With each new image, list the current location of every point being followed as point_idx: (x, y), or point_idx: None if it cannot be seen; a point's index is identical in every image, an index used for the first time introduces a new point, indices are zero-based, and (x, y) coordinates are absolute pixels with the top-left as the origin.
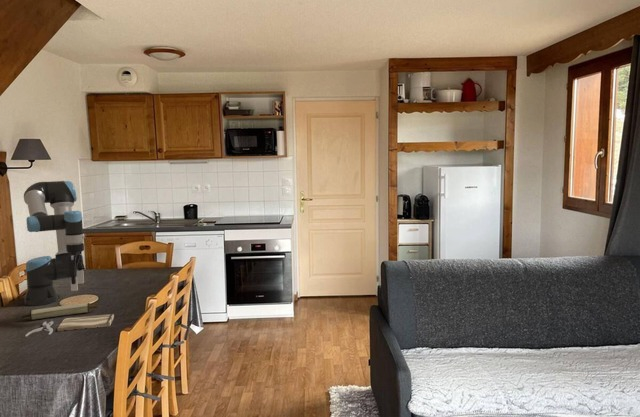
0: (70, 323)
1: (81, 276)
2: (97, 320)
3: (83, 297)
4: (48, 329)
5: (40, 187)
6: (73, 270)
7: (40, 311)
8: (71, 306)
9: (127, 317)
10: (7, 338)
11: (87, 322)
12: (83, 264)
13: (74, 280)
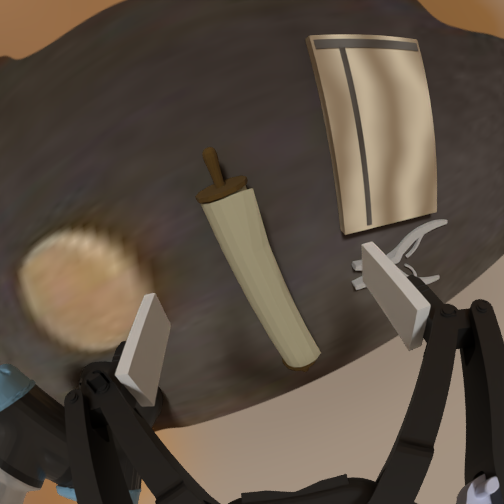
0: (407, 184)
1: (148, 342)
2: (391, 86)
3: (51, 299)
4: (409, 244)
5: None
6: (499, 349)
7: (309, 340)
8: (264, 259)
9: None
10: None
11: (408, 121)
12: (70, 417)
13: (432, 292)
